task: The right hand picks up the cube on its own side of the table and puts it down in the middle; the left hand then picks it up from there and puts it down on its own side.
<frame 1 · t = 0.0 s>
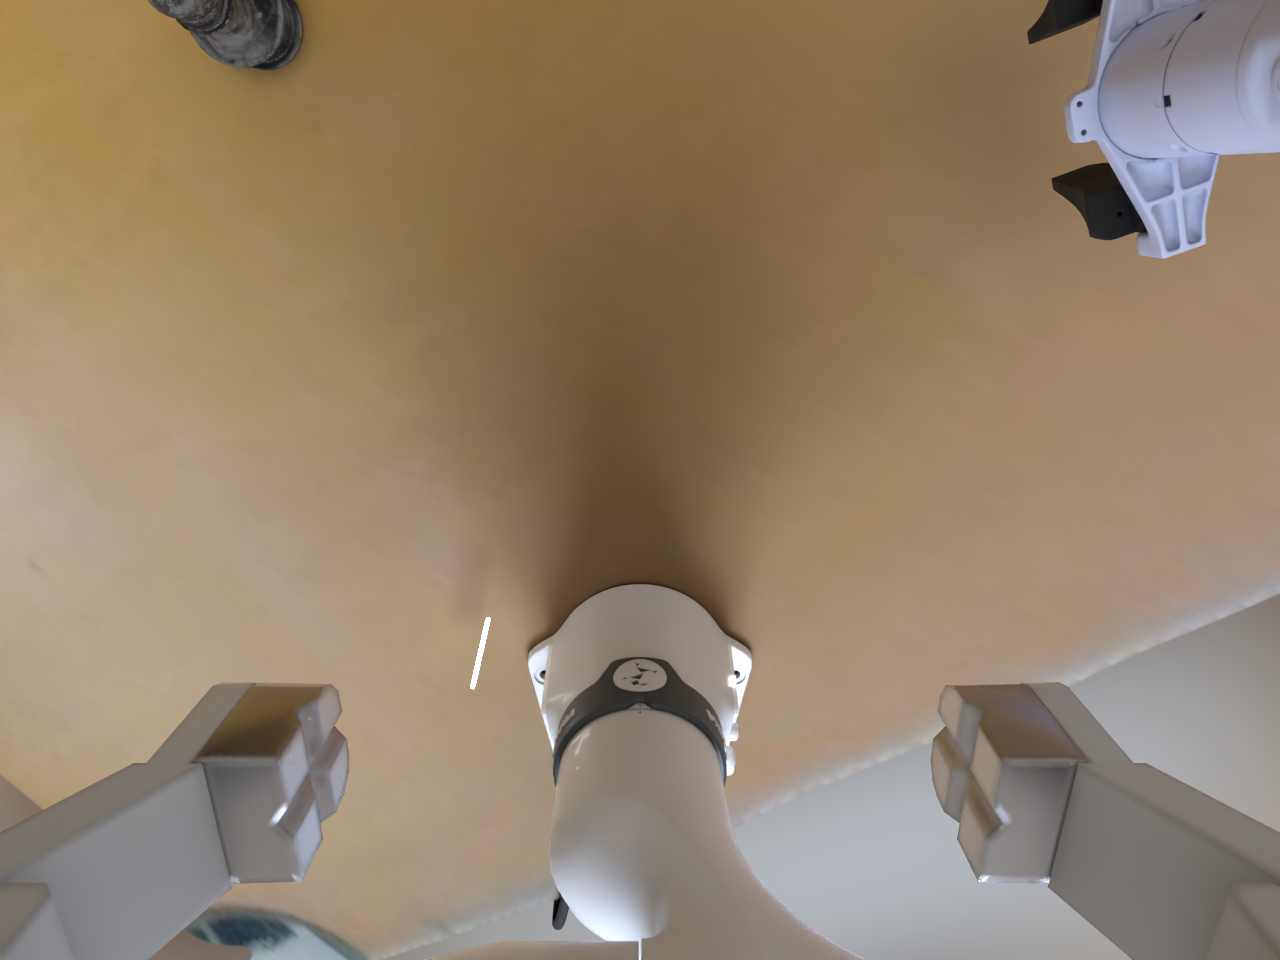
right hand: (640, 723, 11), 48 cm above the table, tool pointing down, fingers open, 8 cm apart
left hand: (1059, 106, 42), fingers open, 7 cm apart
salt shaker: (261, 23, 50), on the table
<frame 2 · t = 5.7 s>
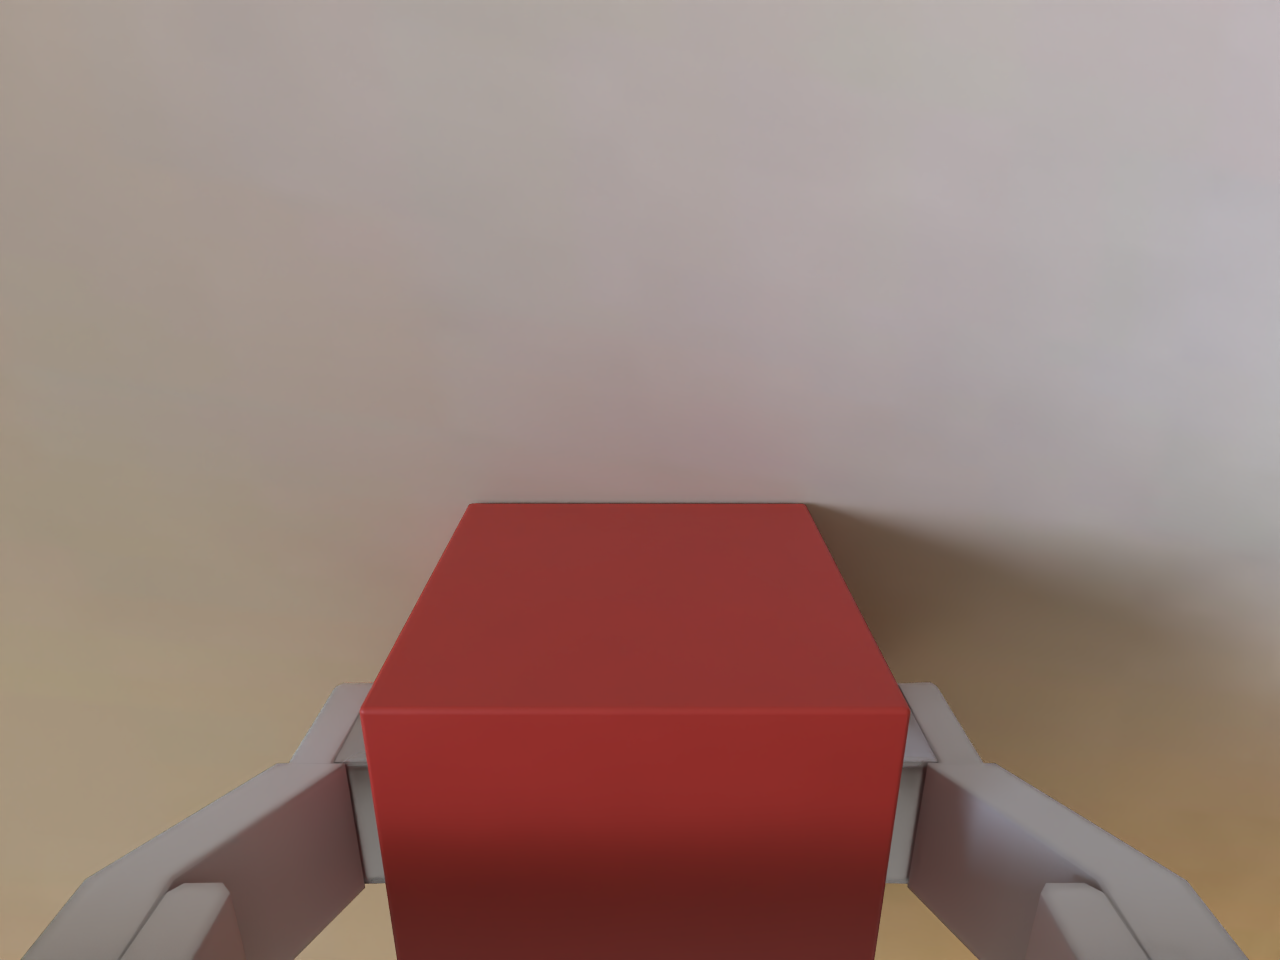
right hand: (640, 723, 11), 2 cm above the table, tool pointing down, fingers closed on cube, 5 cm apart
cube: (637, 652, 12), on the table, touching right hand
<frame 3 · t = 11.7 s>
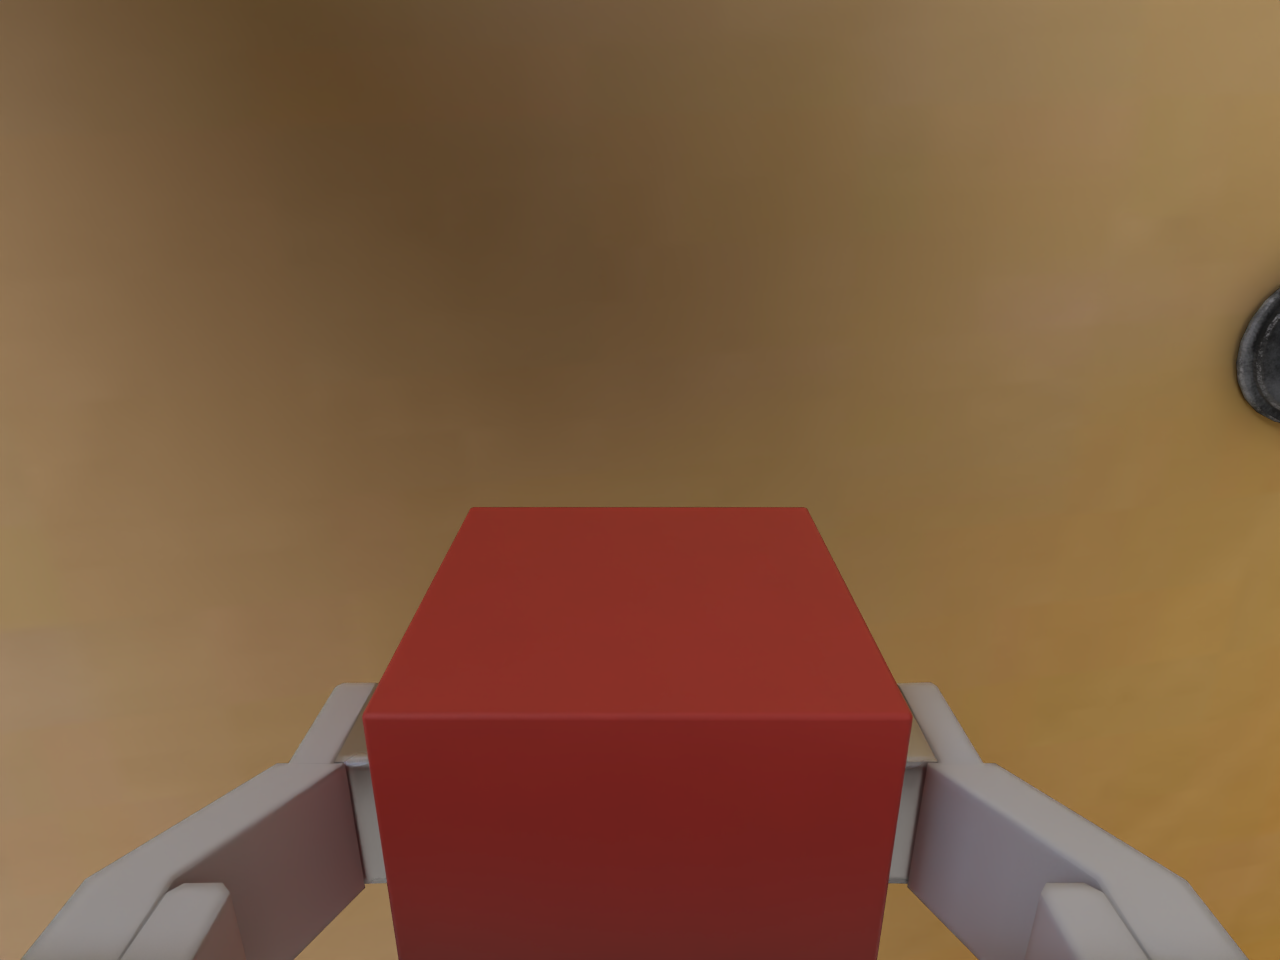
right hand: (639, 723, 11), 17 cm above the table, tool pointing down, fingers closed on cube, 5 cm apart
cube: (638, 655, 12), point 15 cm above the table, touching right hand
when the right hand's fingers open (2 cm above the table, at t = 17.6 s): cube stays where it is, on the table.
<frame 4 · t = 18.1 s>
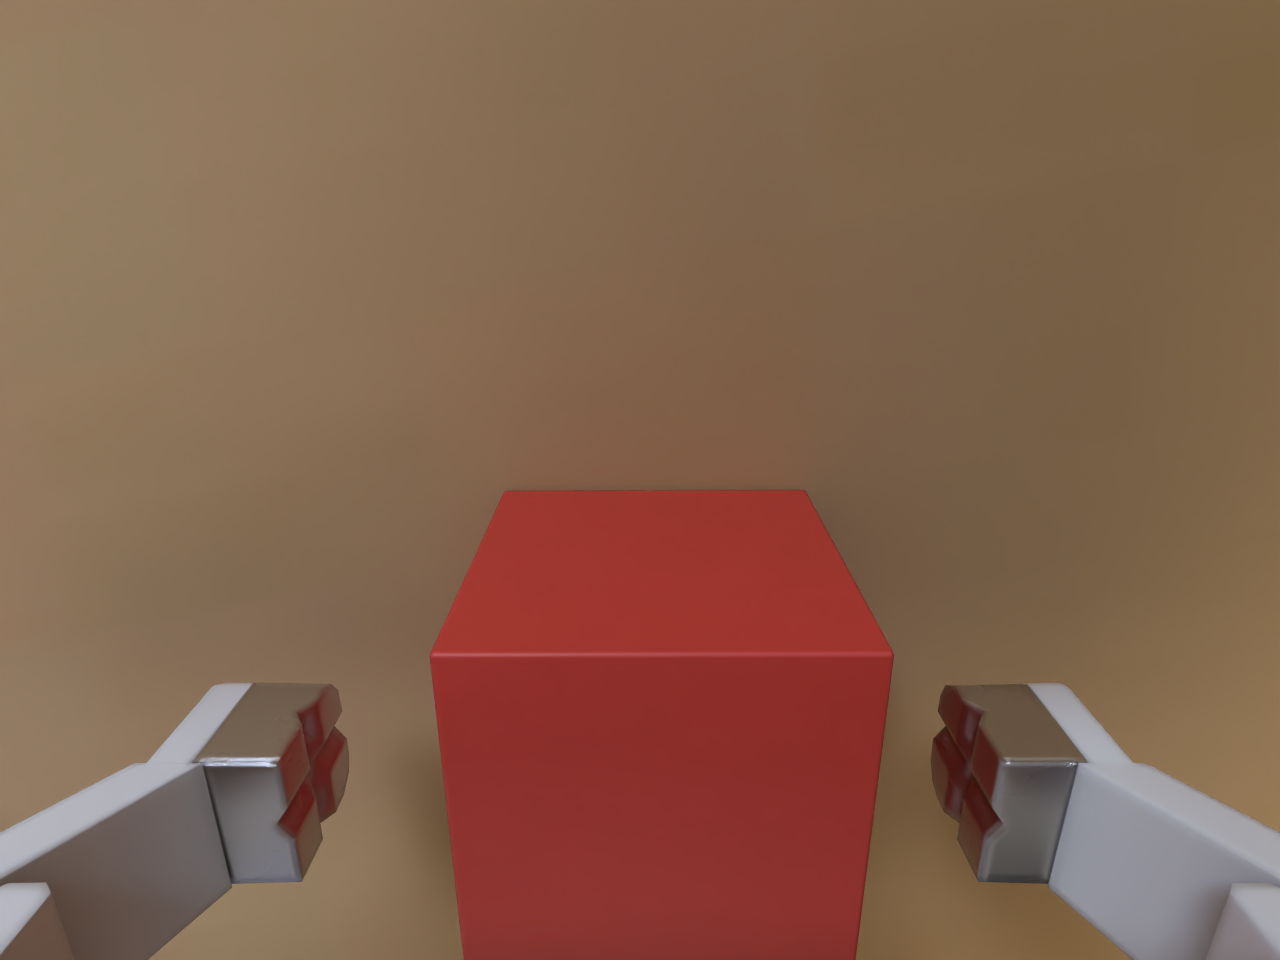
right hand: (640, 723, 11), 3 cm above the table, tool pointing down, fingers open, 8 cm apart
cube: (654, 626, 14), on the table
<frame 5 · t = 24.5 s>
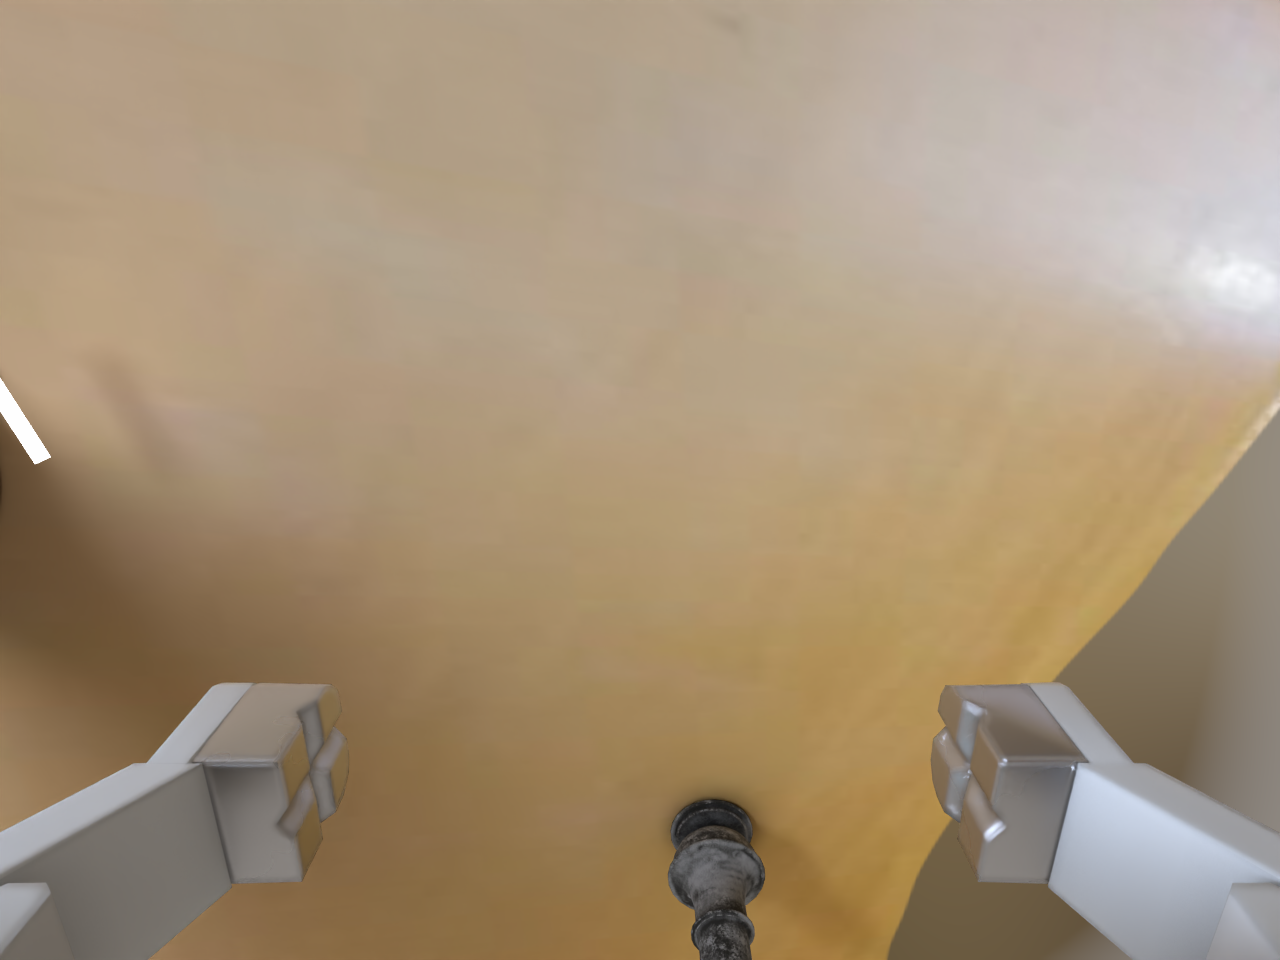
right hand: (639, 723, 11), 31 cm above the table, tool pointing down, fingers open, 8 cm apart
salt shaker: (711, 829, 51), on the table
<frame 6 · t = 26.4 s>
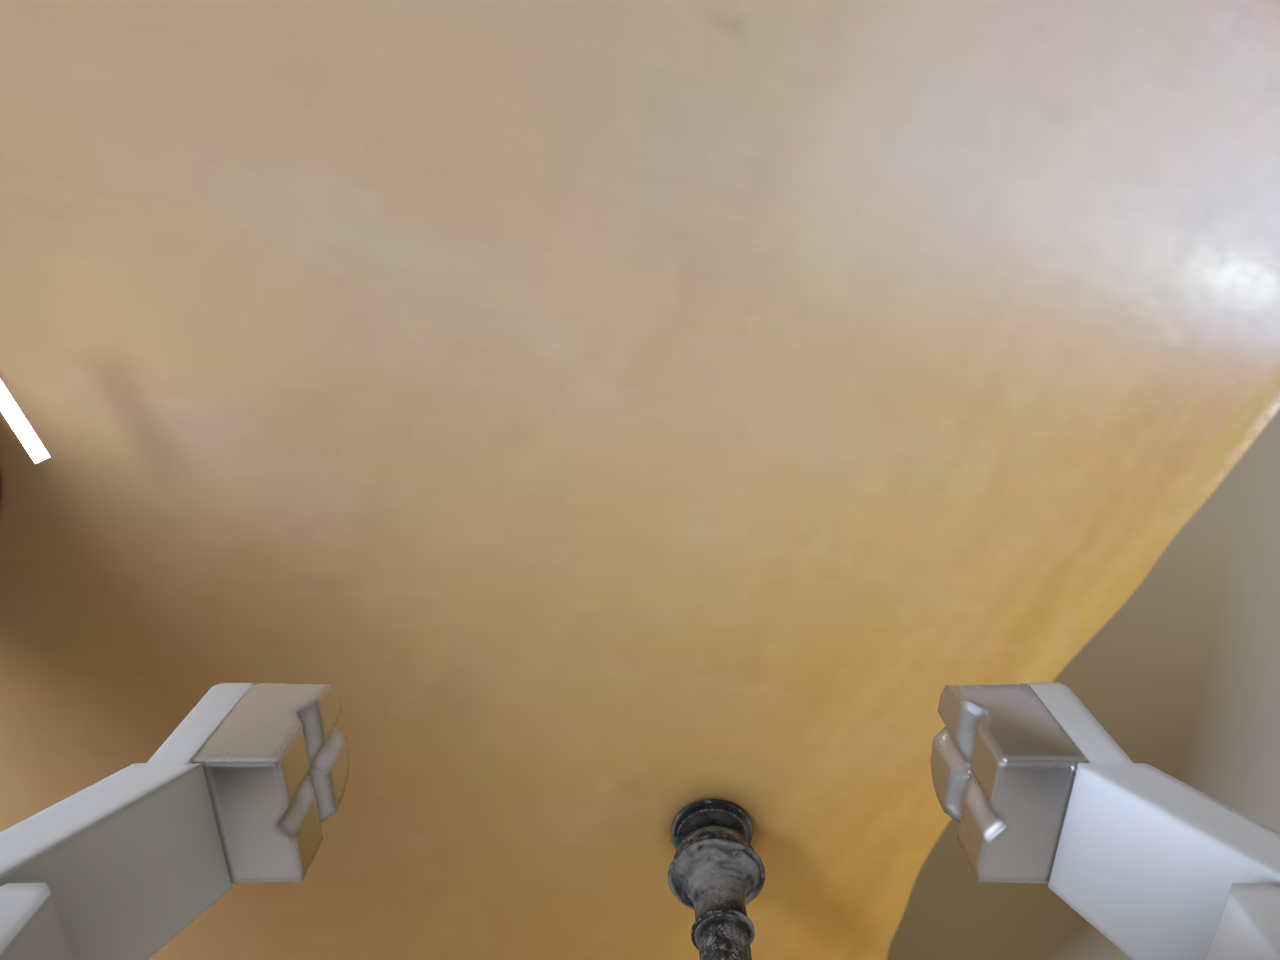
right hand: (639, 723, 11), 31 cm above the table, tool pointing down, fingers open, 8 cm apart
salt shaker: (711, 829, 51), on the table
when the left hand's fingers open (2 cm above the table, at t = 28.7 s): cube stays where it is, on the table.
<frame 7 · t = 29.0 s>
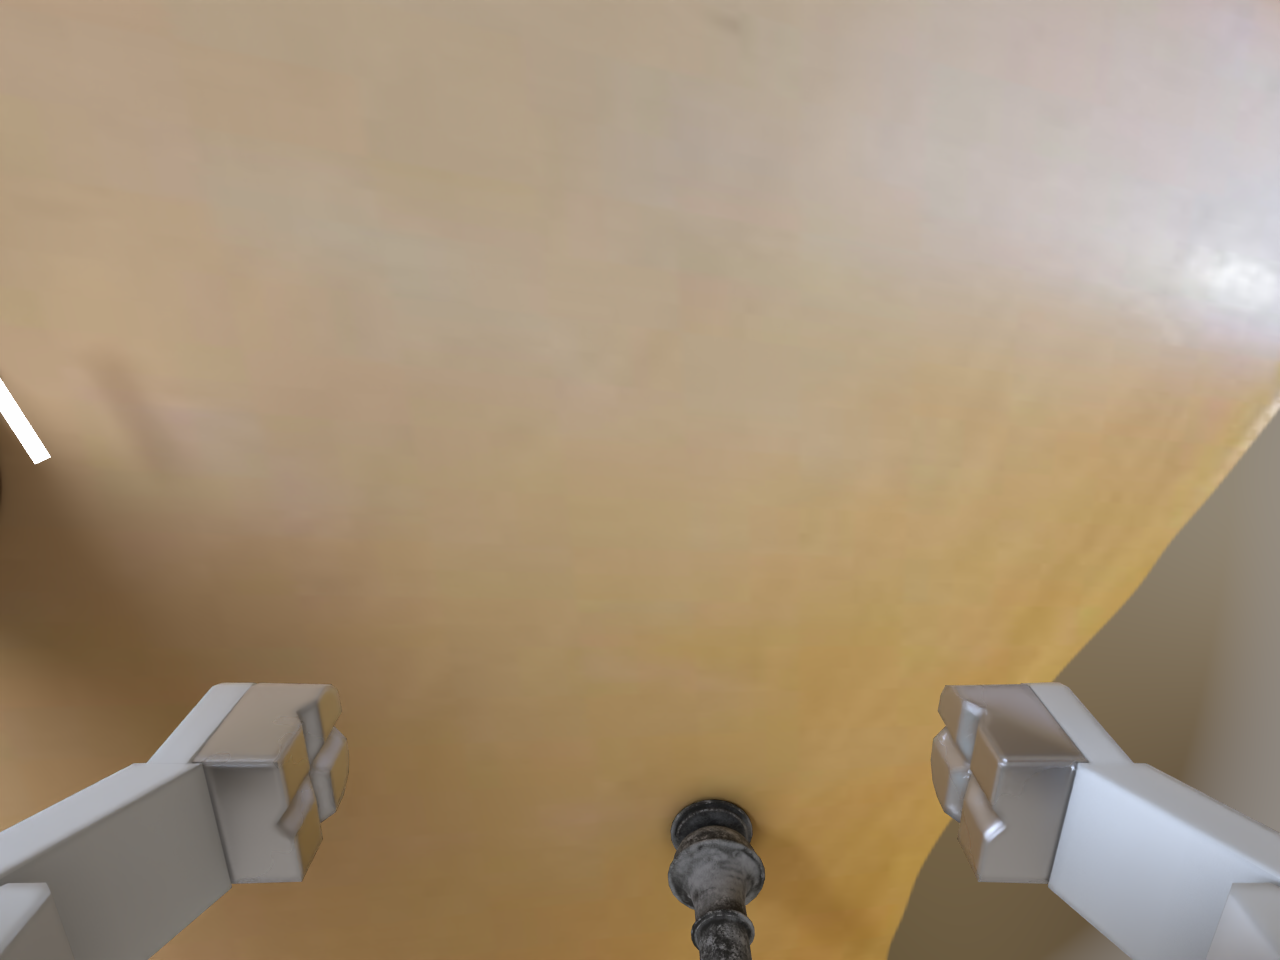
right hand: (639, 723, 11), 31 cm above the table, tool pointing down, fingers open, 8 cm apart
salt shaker: (711, 829, 51), on the table
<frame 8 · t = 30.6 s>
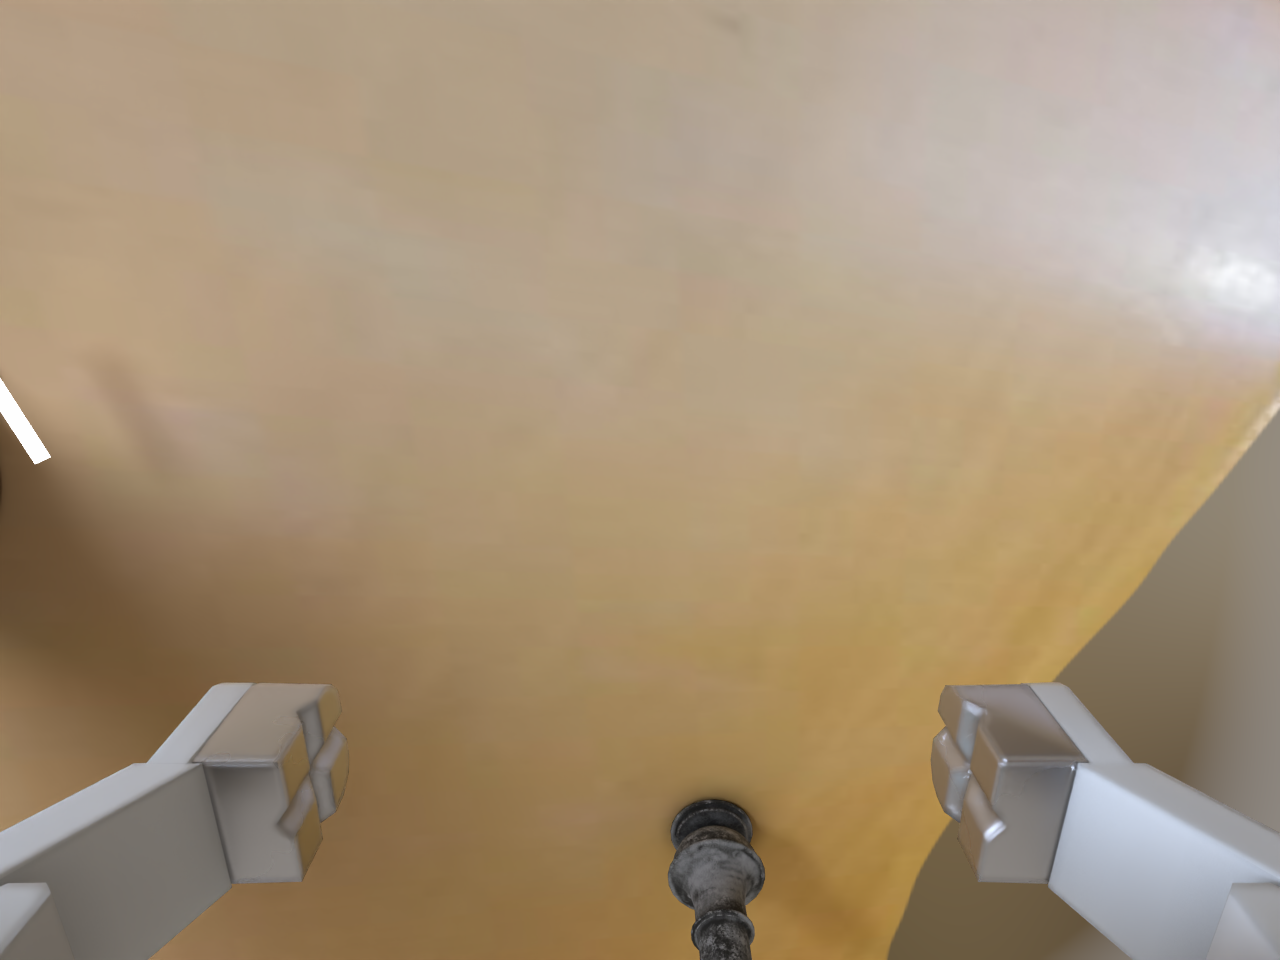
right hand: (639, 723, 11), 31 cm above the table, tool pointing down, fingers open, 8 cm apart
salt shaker: (711, 829, 51), on the table
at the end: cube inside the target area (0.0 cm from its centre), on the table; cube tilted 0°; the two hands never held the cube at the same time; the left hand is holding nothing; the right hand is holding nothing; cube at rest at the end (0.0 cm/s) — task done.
